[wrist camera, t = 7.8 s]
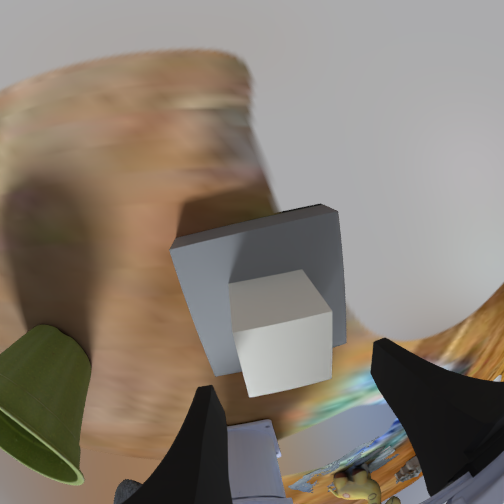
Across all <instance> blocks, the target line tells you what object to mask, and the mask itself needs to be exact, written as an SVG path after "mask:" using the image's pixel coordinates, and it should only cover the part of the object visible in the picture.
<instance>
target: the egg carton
mask: <svg viewBox="0 0 504 504" xmlns="http://www.w3.org/2000/svg"><path fill="white" fill-rule="evenodd" d="M400 470H401V471H399V472H398V473H396V474H395V476H396V479H397V481H396V484H397V483H398V482H399V481H401V482H404V481H405V480H408V479H411V478H412V477H417V476H418V475H419V473H420V472H421V471H422V470H421V467H420V464H419V461H418V459H417V457H416V456H415V457H413V458H412V459H411V460H409V461H407V462H406V465H405V466H404V467H402V468H401V469H400Z"/></svg>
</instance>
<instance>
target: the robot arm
mask: <svg viewBox="0 0 504 504" xmlns="http://www.w3.org/2000/svg"><path fill="white" fill-rule="evenodd" d="M371 375H372V377H373V379H374V381H375V383H376V385H377V387H378V389H379V391H380V392H381V394H382V395H383V397H384V398H385V400H386V402H387V403H388V404H389V406H390V407H391V409H392V410H393V412H394V413H395V415H396V416H397V418H398V419H399V421H400V422H401V424H402V426H403V428H404V429H405V431H406V433H407V436H408V438H409V440H410V442H411V444H412V446H413V449H414V451H415V454H416V456H417V459H418V461H419V464H420V467H421V470H422V473H423V476H424V479H425V483H426V486H427V491H428V493H429V495H430V496H431V497H430V498H429V499H427V500H425V501H424V502H422V503H420V504H443V503H445V502H446V501H447V503H446V504H502V503H503V502H504V382H497V381H488V380H482V379H477V378H472V377H468V376H464V375H461V374H458V373H455V372H452V371H449V370H446V369H444V368H441V367H439V366H437V365H435V364H433V363H430V362H428V361H426V360H424V359H422V358H420V357H419V356H417V355H415V354H413V353H411V352H409V351H408V350H406V349H404V348H402V347H401V346H399V345H397V344H396V343H394V342H392V341H390V340H389V339H387V338H382V339H380V340H377V341H375V342H374V343H373V354H372V364H371ZM280 456H281V452H280V449H279V446H278V442H277V439H276V435H275V432H274V429H273V425H272V422H271V420H269V419H266V420H261V421H256V422H251V423H245V424H240V425H234V426H227V424H226V417H225V412H224V410H223V407H222V405H221V403H220V401H219V399H218V397H217V394H216V392H215V390H214V388H213V386H212V385H209V386H202V387H198V388H197V390H196V393H195V396H194V399H193V401H192V404H191V406H190V409H189V411H188V414H187V416H186V418H185V420H184V423H183V425H182V427H181V429H180V431H179V433H178V435H177V437H176V439H175V440H174V442H173V444H172V446H171V448H170V449H169V451H168V452H167V454H166V456H165V457H164V459H163V460H162V461H161V463H160V464H159V466H158V467H157V468H156V469H155V471H154V472H153V473H152V474H151V476H150V477H149V478H148V479H147V480H146V481H145V482H144V483H143V484H142V485H141V486H140V488H139V489H138V490H137V491H136V492H135V493H133V494H132V495H131V496H130V497H129V498H128V499H126V500H125V501H124V502H123V503H122V504H293V501H292V498H286V495H285V491H284V487H283V482H282V478H281V474H280V470H279V465H278V461H277V458H278V457H280Z"/></svg>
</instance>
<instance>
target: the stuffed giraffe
mask: <svg viewBox="0 0 504 504" xmlns="http://www.w3.org/2000/svg"><path fill="white" fill-rule="evenodd" d="M378 438H379V437H377V438H375V439H374V440H372V441H371V442H368V443H364V444H363V445H360V446H358V447H357V448H355V449H354V450H353V451H350V452H349V453H348V454H346V455H344V456H343V457H342V458H341V459H338V460H337V461H334V462H333V463H330V464H328V465H332V466H331V467H329V466H328V465H326V466H328V468H326V469H323V470H320V469H322V468H320V469H319V470H316V471H314V472H312V473H310V474H307V475H305V476H303V479H300V480H298V481H297V482H296V483H295V484H293V485H291V486H289V488H291V489H294V490H300V491H303V492H311V491H312V490H313V489H312V490H310V489H311V488H313V486H312V485H313V484H312V485H311V484H309V485H308V483H307V481H309V480H310V478H311V477H313V476H314V475H313V474H318V473H321V472H322V471H324V472H325V470H326V471H329V470H330V469H331V471H335V468H336V469H337V468H338V467H339V466H340V465H339V464H340V462H341V461H343V460H346V459H348V458H350V457H351V456H353V455H354V454H355V453H357V452H358V451H359V450H361V449H362V448H364V447H365V446H366V448H367V447H369V445H371V444H372V443H373V442H374V441H375V440H376V439H378ZM384 448H385V445H384ZM384 448H383V447H381V448H379V449H376V451H373V453H371V454H370V455H368V456H366V457H365V458H364V457H363V458H364V459H363V458H360V457H361V455H362V454H361V453H363V451H364V450H363V451H361V452H360V453H359V454H358V455H357V456H355V457H354V458H353V459H352V460H351V459H349V460H348V461H350V460H351V461H350V462H349V463H348V464H350V463H352V462H353V461H355V460H356V461H355V462H354V463H355V465H353V466H352V467H350V468H349V469H348V470H346V471H342V472H338V473H336V474H335V476H334V478H333V482H334V484H333V482H332V485H331V486H334V487H335V488H334V489H332V488H331V486H330V485H329V486H330V487H329V486H327V487H329V488H328V489H329V491H331V492H332V493H333V494H334V495H335V496H337V497H338V498H344V499H348V500H355V499H366V500H367V501H368V504H381V490H380V486H379V484H378V483H377V482H376V481H374V480H373V479H371V475H370V473H372V472H373V471H375V470H377V469H379V468H380V467H381V466H383V465H385V464H386V463H387V462H389V461H390V460H392V459H393V458H395V457H396V456H397V455H399V454H396V455H395V456H394V457H392V458H390V459H389V458H388V459H387V460H386V459H385V458H386V457H387V456H389V455H391V454H392V453H393V452H394V451H395V450H394V449H393V448H391V449H390V450H388V451H386V450H387V449H389V448H390V446H389V447H388V448H386V449H385V450H383V451H381V450H382V449H384ZM364 449H365V448H364ZM379 451H381V452H380V453H379V454H381V455H380V456H379V457H378V458H376V459H375V461H373V462H372V463H370V464H368V465H367V464H366V463H364V462H366V461H367V460H368V459H370V458H371V457H373V456H374V455H375V454H377V453H378V452H379ZM385 451H386V452H385ZM383 452H384V453H383ZM382 453H383V454H382ZM376 456H378V454H377V455H376ZM374 457H375V456H374ZM358 458H360V459H358ZM357 459H358V460H357ZM383 459H384V460H383ZM335 463H336V464H335ZM338 463H339V464H338ZM354 463H352V464H354ZM361 463H362V464H361ZM348 464H347V465H348ZM359 464H360V465H359ZM347 465H345V466H347ZM324 467H325V466H324ZM331 471H330V472H331ZM330 472H329V473H330ZM321 474H322V475H324V474H323V473H321ZM327 474H328V472H326V475H327ZM311 475H313V476H311ZM317 476H318V475H317ZM305 483H306V484H305ZM315 483H316V482H315ZM316 484H317V483H316ZM316 484H315V485H316ZM303 485H304V486H303ZM315 485H314V486H315ZM305 486H308V487H305ZM297 487H298V488H297ZM335 489H336V491H333V490H335ZM329 491H328V492H329ZM311 493H313V492H311ZM385 504H401V502H400V499H399V498H397V497H395V496H392V497H391V498H390V499H389V500H388V501H387V502H386V503H385Z"/></svg>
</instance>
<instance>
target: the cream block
mask: <svg viewBox="0 0 504 504" xmlns="http://www.w3.org/2000/svg"><path fill="white" fill-rule="evenodd" d="M228 287H229V300H230V311H231V323H232V333H233V337H234V341H235V345H236V349H237V353H238V357H239V361H240V365H241V368H242V372H243V376H244V380H245V383H246V387H247V391H248V394H249V398H250V397H256V396H261V395H266V394H271V393H276V392H281V391H285V390H290V389H294V388H298V387H302V386H306V385H310V384H314V383H317V382H321V381H325V380H328V379H332V310H331V308H330V307H329V306H328V304H327V303H326V301H325V300H324V299H323V297H322V296H321V294H320V293H319V292H318V290H317V289H316V288H315V286H314V285H313V283H312V282H311V281H310V279H309V278H308V277H307V275H306V274H305V273H304V271H303V270H302V269H301V270H296V271H291V272H286V273H281V274H276V275H271V276H266V277H261V278H256V279H251V280H245V281H240V282H235V283H229V284H228Z"/></svg>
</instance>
